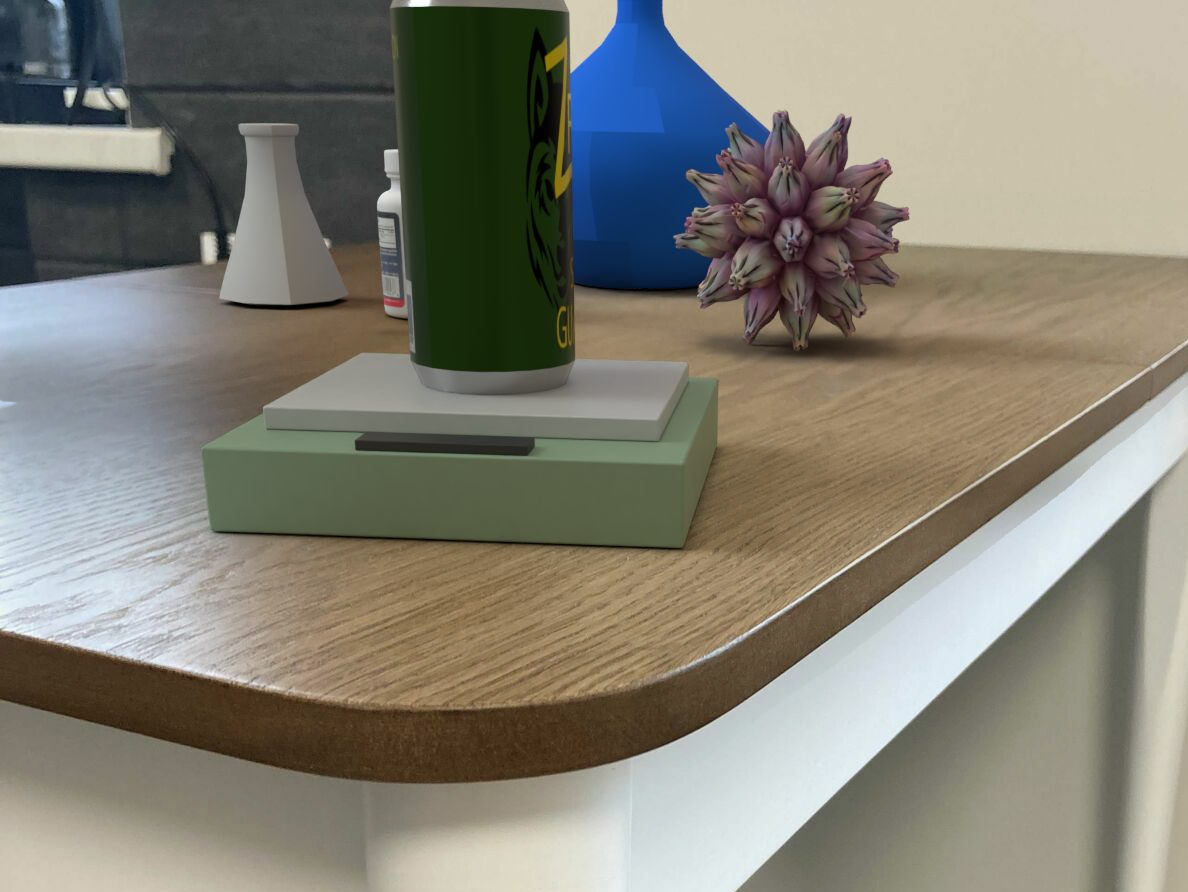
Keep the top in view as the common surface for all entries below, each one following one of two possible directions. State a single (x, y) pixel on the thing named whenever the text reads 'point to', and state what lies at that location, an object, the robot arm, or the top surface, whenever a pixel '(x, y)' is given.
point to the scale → (472, 457)
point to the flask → (277, 229)
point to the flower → (792, 229)
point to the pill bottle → (392, 241)
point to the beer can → (486, 191)
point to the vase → (644, 153)
